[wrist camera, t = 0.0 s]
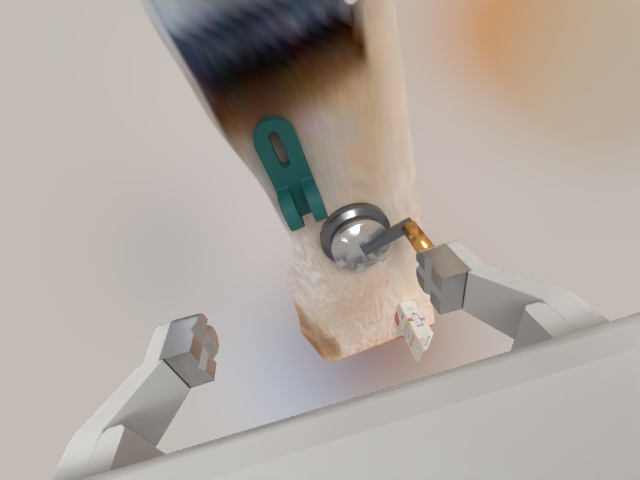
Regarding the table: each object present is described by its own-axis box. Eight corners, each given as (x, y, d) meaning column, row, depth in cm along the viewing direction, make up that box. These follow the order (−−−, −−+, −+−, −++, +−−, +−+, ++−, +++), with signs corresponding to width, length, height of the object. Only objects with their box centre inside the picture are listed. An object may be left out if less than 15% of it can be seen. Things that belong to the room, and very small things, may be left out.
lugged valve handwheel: (345, 267, 64) (361, 309, 55) (319, 236, 57) (332, 278, 48) (414, 229, 61) (443, 266, 52) (396, 189, 53) (426, 226, 44)
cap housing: (314, 214, 56) (316, 220, 54) (386, 194, 56) (390, 200, 55) (326, 265, 66) (328, 271, 64) (387, 247, 66) (391, 254, 64)
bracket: (322, 200, 55) (331, 224, 49) (289, 213, 55) (295, 238, 49) (286, 108, 43) (292, 124, 37) (245, 125, 43) (245, 144, 37)
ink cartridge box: (409, 315, 88) (432, 360, 76) (394, 318, 87) (415, 364, 76) (414, 298, 82) (440, 344, 71) (398, 301, 81) (422, 348, 70)
